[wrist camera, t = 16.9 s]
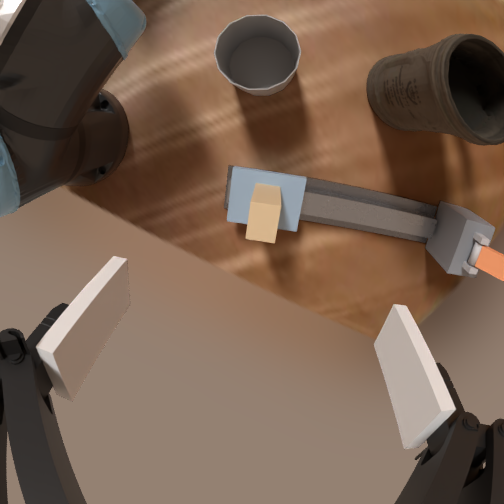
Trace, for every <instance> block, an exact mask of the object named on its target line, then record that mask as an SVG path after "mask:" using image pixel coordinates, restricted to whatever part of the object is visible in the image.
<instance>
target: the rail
mask: <svg viewBox="0 0 504 504" xmlns="http://www.w3.org/2000/svg"><path fill="white" fill-rule="evenodd" d="M233 167H234V166H231V165H229V167H228V176H227V185H226V194H225V203H224V208H227V209H228V206H229V197H230V188H231V179H232V171H233ZM238 167H239V166H238ZM245 168H246V167H245ZM252 169H253V168H252ZM259 170H260V169H259ZM266 171H267V170H266ZM273 172H274V171H273ZM279 173H280V172H279ZM285 174H286V173H285ZM291 175H292V174H291ZM297 176H298V175H297ZM303 177H304V176H303ZM306 179H307V180H306V185H305V191H304V196H303V201H302V206H301V212H300V217H299V220H305V221H311V222H317V223H323V224H329V225H335V226H340V227H346V228H351V229H357V230H362V231H368V232H373V233H378V234H383V235H389V236H394V237H399V238H404V239H409V240H414V241H419V242H423V243H426V240H427V238H430V239H432V236H433V233H434V230H435V227H436V223H437V219H436V218H434V216H435V212H436V209H437V206H434V205H430V204H427V203H423V202H419V201H415V200H411V199H407V198H403V197H399V196H395V195H391V194H387V193H383V192H378V191H374V190H369V189H365V188H360V187H355V186H351V185H346V184H341V183H336V182H331V181H326V180H320V179H315V178H309V177H306Z"/></svg>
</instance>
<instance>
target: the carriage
mask: <svg viewBox="0 0 504 504" xmlns="http://www.w3.org/2000/svg"><path fill="white" fill-rule="evenodd" d="M306 180H307V179H306V177H303V176H297V175H291V174H285V173H279V172H273V171H266V170H259V169H252V168H245V167H238V166H234V167H233V171H232V179H231V188H230V197H229V206H228V215H227V221H229V222H236V223H243V224H247V231H246V239H250V240H256V241H263V242H269V243H275V239H276V233H277V229H282V230H288V231H295V232H297V227H298V222H299V217H300V212H301V206H302V201H303V196H304V191H305V185H306Z"/></svg>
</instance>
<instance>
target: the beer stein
mask: <svg viewBox="0 0 504 504" xmlns="http://www.w3.org/2000/svg"><path fill="white" fill-rule="evenodd" d="M367 95H368V99H369V102H370V104H371V106H372V108H373V110H374V111H375V113H376V114H377V115H378V116H379V118H380V119H381V120H382V121H383V122H385V123H386V124H388V125H389V126H391V127H393V128H395V129H399V130H404V131H422V130H424V131H432V132H441V133H446V134H452V135H455V136H458V137H460V138H463V139H464V140H466V141H468V142H469V143H473V144H477V145H498V144H501V143H503V142H504V53H503V52H502V51H501V50H500V49H499V48H498V47H497V46H496V45H495V44H494V43H493V42H491V41H489V40H488V39H486V38H484V37H482V36H479V35H474V34H455V35H451V36H448V37H446V38H445V39H443V40H441V41H440V42H438V43H436V44H434V45H432V46H430V47H427V48H423V49H416V50H413V51H409V52H407V53H405V54H397V55H393V56H388V57H385V58H383V59H381V60H379V61H378V62H377V63H376V64H375V65H374V66H373V67H372V69H371V70H370V72H369V75H368V79H367Z"/></svg>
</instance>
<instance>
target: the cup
mask: <svg viewBox="0 0 504 504" xmlns="http://www.w3.org/2000/svg"><path fill="white" fill-rule="evenodd" d="M300 54H301V49H300V45H299V42H298V39H297V35H296V34H295V33H294V32H293V31H292V30H291V29H290V28H289V27H288V25H287V24H286V23H285V22H283V21H281V20H278V19H276V18H273V17H271V16H268V15H246V16H244V17H242V18H240V19H237V20H235V21H233V22H231V23H229V24H228V25H227V27H226V28H225V29H224V30H223V31H222V32H221V34H220V35H219V36H218V38H217V42H216V46H215V50H214V56H215V59H216V63H217V67H218V70H219V71H220V72H221V73H222V74H223V75H224V76H225V77H226V78H227V79H228V81H229V82H230V83H232V84H233V85H235V86H236V87H238V88H239V89H241V90H243V91H245V92H247V93H250V94H252V95H254V96H270V95H272V94H274V93H277V92H279V91H281V90H283V89H284V88H285V87H286V86H287V84H288V83H289V82H290V81H291V80H292V78H293V76H294V74H295V72H296V70H297V67H298V63H299V59H300Z"/></svg>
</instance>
